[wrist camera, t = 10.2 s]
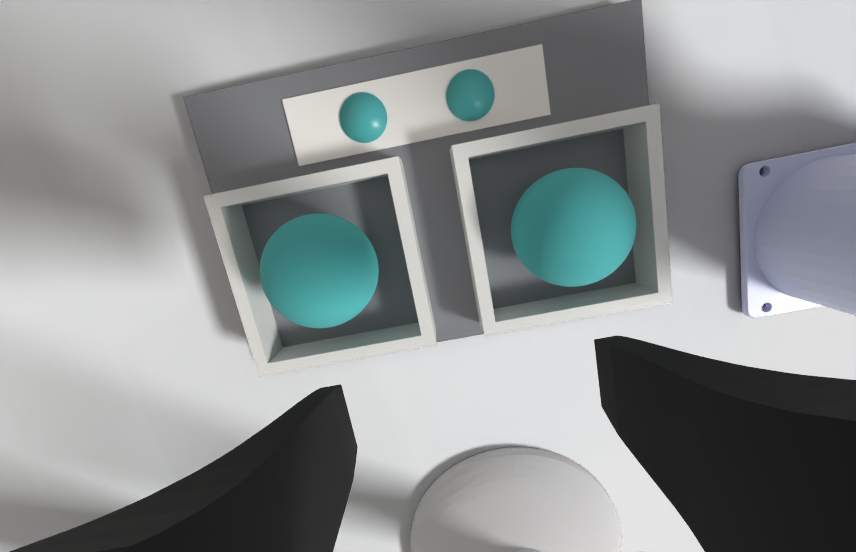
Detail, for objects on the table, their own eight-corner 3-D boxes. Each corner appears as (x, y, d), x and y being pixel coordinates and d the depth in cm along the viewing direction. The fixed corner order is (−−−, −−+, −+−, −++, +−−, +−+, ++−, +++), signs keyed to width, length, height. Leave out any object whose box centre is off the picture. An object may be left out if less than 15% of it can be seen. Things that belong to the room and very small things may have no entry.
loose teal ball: (375, 204, 19) (357, 208, 14) (391, 302, 20) (379, 337, 15) (275, 218, 19) (222, 227, 14) (296, 314, 20) (253, 353, 15)
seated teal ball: (598, 161, 19) (658, 150, 14) (608, 263, 20) (667, 287, 15) (494, 182, 19) (516, 178, 14) (509, 281, 20) (535, 311, 15)
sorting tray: (629, 8, 18) (668, -27, 15) (652, 296, 21) (687, 313, 18) (195, 102, 19) (153, 85, 16) (273, 364, 22) (249, 391, 19)
